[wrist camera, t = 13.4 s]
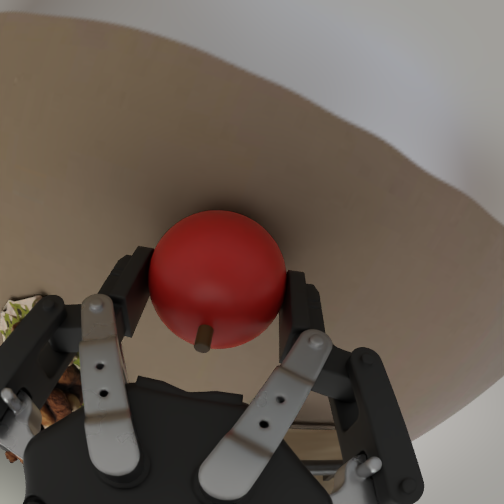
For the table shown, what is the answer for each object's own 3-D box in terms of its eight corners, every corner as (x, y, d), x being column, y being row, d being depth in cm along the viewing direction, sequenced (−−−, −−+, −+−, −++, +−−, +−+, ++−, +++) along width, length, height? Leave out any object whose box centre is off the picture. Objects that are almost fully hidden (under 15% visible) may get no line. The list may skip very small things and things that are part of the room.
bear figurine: (151, 370, 24) (113, 504, 14) (86, 404, 30) (56, 490, 20) (19, 266, 19) (-68, 388, 9) (-6, 334, 25) (-54, 417, 15)
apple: (280, 183, 15) (285, 275, 9) (287, 285, 18) (291, 391, 12) (157, 195, 15) (94, 283, 10) (184, 290, 19) (152, 389, 13)
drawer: (246, 403, 24) (237, 500, 17) (370, 410, 25) (382, 496, 17) (227, 462, 34) (221, 521, 27) (312, 467, 34) (313, 524, 27)
